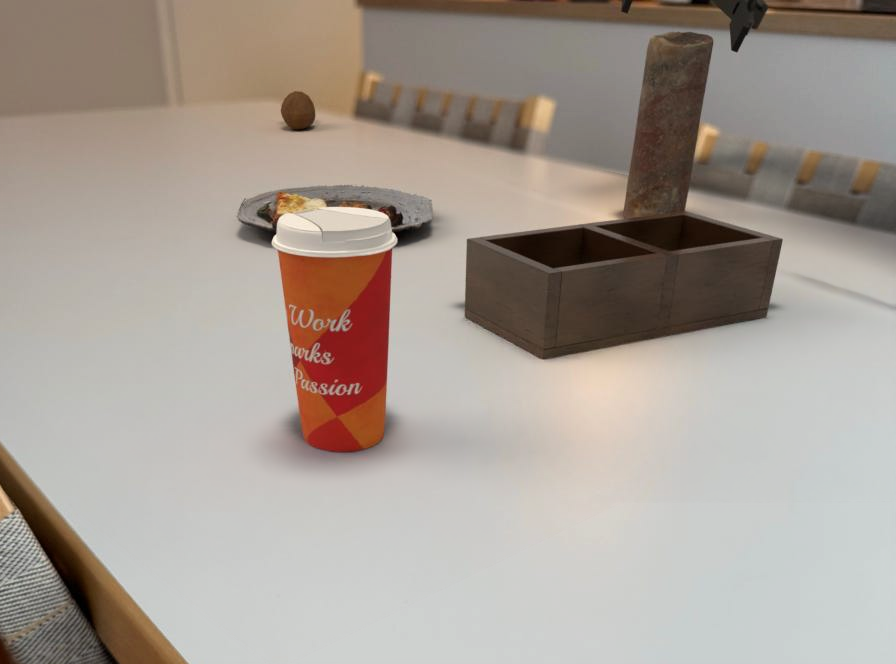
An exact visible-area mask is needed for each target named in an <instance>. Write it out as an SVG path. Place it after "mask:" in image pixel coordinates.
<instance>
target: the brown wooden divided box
mask: <svg viewBox="0 0 896 664" xmlns="http://www.w3.org/2000/svg"><path fill="white" fill-rule="evenodd" d="M783 241H784V239H783V238H781V237H777V236H774V235H770V234H767V233H764V232H760V231H757V230H753V229H749V228H746V227H743V226H739V225H735V224H733V223H732V224H731V223H728V222H725V221H721V220H718V219H714V218H712V217H708V216H705V215H701V214H697V213H693V212H690V211H687V210H685V211H681V212H673V213H665V214H657V215H650V216H642V217H634V218H626V219H624V218H620V219H618V218H617V219H612V220H603V221H595V222H587V223H581V224H580V223H579V224H573V225H565V226H556V227H549V228H540V229H533V230H526V231H525V230H523V231H517V232H509V233H502V234H493V235H487V236H486V235H485V236H480V237H477V236H476V237H471V238H470V237H469V238H467V239H466V253H465V254H466V255H465V256H466V257H465V258H466V259H465V260H466V261H465V286H464V287H465V289H464V318H466V319H468V320H469V321H472V322H473V323H475V324H477V325H478V326H481V327H483V329H484V328H485V329H486V330H488V331H490V332H492V333H493V334H496V335H497V336H499V337H501V338H503V339H504V340H507V341H508V342H510V343H512V344H514V345H516V346H518V347H519V348H522V349H523V350H525V351H527V352H529V353H530V354H532V355H534V356H536V357H538V358H540V359H541V360H545V359H550V358H551V359H552V358H556V357H562V356H567V355H571V354H577V353H583V352H587V351H593V350H598V349H604V348H609V347H615V346H619V345H625V344H630V343H635V342H641V341H646V340H651V339H657V338H663V337H667V336H673V335H678V334H684V333H689V332H695V331H699V330H705V329H710V328H715V327H720V326H721V327H722V326H725V325H726V326H727V325H731V324H737V323H742V322H747V321H752V320H757V319H762V318H767V317H768V312H769V308H770V303H771V298H772V293H773V288H774V284H775V279H776V274H777V270H778V266H779V260H780V255H781V251H782V245H783Z"/></svg>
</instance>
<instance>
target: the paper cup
mask: <svg viewBox="0 0 896 664" xmlns="http://www.w3.org/2000/svg"><path fill="white" fill-rule="evenodd" d="M275 233H276V234H275V235H273V238H272V240H271V246H272V247H273V248H274V249H275V250H277V255H278V263H279V270H280V279H281V283H282V284H281V285H282V292H283V299H284V301H283V302H284V309H285V316H286V323H287V330H288V339H289V347H290V353H291V360H292V368H293V375H294V383H295V390H296V396H297V404H298V412H299V417H300V425H301V430H302V435H303V439H304V441H305V442H306V444H308V445H309V446H311V447H312V448H315V449H318V450H321V451H326V452H332V453H333V452H336V453H346V452H347V453H348V452H356V451H357V452H358V451H362V450H366V449H369V448H372V447H374V446H376V445H377V444H380V443H381V441H382V440H383V438H384V435H385V428H386V427H385V425H386V411H387V392H388V391H387V390H388V388H387V387H388V370H389V369H388V365H389V363H388V362H389V346H390V345H389V344H390V343H389V342H390V341H389V340H390V320H391V319H390V315H391V291H392V290H391V289H392V288H391V287H392V266H393V265H392V264H393V248H394V247H395V246H396V245H398V237H397V236H396V234H395V232H392V228H391V222H390V219H389V217H388V216H387V215H386V214H384V213H382V212H379V211H375V210H370V209H364V208H354V207H321V208H317V210H316V211H313V209H308V210H302V211H297V212H295V215H294V214H291V213H287V214H284V215H282V216H281V217H280V218H279V220H278V222H277V232H275Z"/></svg>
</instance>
